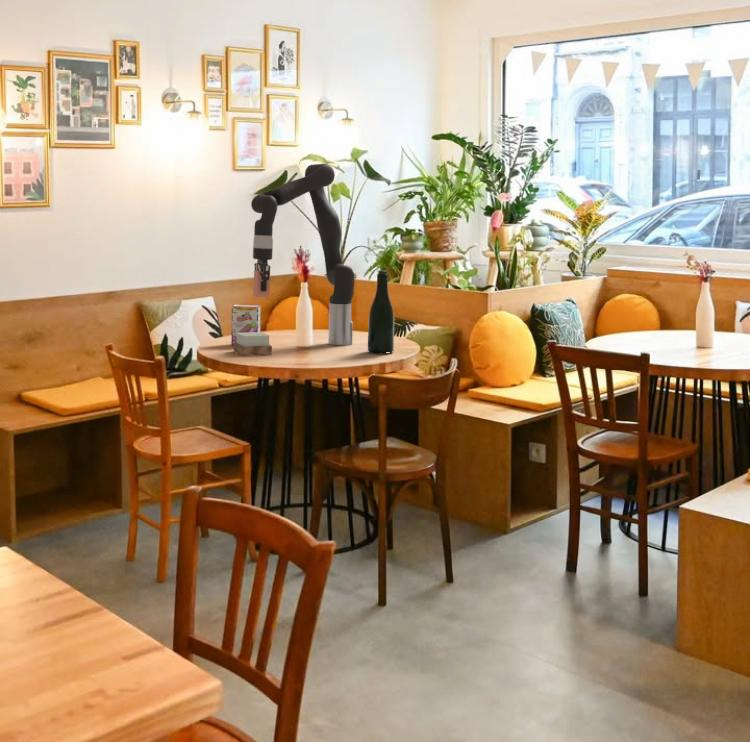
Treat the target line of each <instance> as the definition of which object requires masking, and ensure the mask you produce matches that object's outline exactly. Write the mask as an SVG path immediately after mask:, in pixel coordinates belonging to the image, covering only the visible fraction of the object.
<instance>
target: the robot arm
mask: <svg viewBox="0 0 750 742" xmlns="http://www.w3.org/2000/svg"><path fill="white" fill-rule="evenodd" d="M335 176H336V175H335V170H334V168H333V167H332V166H331V165H330V164H327V163H315V164H310V165H308V166H307V167H306V169H305V171H304V176H303V177H300V178H297V179H294V180H290V181H288V182H286V183H284V184H281V185H279V186H277V187H275V188H274V189H270V190H268V191H265V192H261V193H258V194H256V195H255V196H254V197H253V198H252V200H251V203H250V204H251V209H252V210H253V212H255V213H257V214H261V215H260V216H261V217H260V219H258V220H256V221H255V222H254V227H253V229H254V233H253V241H252V242H253V245H252V250H253V251H252V258H253V259H254V260H257V261H256V262H254V270H255V271H260V276H261V291H267V282H268V280H269V276H270V277H271V265H269V262H268V261H271V260H272V259H273V252H274V251H273V246H274V244H273V243H274V240H273V233H274V232H273V228H274V227H273V225H274V222H275V218H276V216H277V212H278V206H279V207H281V206H284V205H286V204H289V202H291V201H293V200H296V198H299V197H301V196H303V195H305V194H307V193H309V196H310V200H311V202H312V207H313V211H314V215H315V219H316V220H315V221H316V224H317V225H316V226H317V229H318V234H319V237H320V241H321V242H320V243H321V248H322V251H323V257H324V266H325V272H326V278H327V281H328V282H329V284H330V285H331V286H333V292H332V294H331V295H330V296H329V299H328V300H329V301H328V303H329V306H328V307H329V308H328V313H329V314H328V344H329V345H332V346H333V345H334V346H349V345H353V334H354V333H353V330H354V329H353V328H354V327H353V326H354V324H353V321H352V301H353V300H352V299H353V297H354V294H355V292H354V290H355V272H354V270H353V269H352V267H350V266H349V265H346V264H344V262H343V259H342V256H341V244H342V243H341V242H342V228H341V223H340V218H339V214H338V213H337V212H336V210H335V208H334V207H333V205H332V203H331V202H330V201H329V200H328V198H327V194H326V192H325V187H328V186H330V185H331V184H332V183H333V182H334V180H335ZM261 272H263V273H261ZM265 276H266V277H265Z"/></svg>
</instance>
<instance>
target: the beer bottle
mask: <svg viewBox="0 0 750 742" xmlns="http://www.w3.org/2000/svg"><path fill="white" fill-rule="evenodd" d="M377 272H378V273H377V274H376V291H375V295H374V298H373V301H372V303H371V306H370V309H369V312H368V313H369V315H368V325H367V326H368V328H367V332H368V333H367V352H368V351H369V352H368V353H370V352H372V353H371V354H374V353H386V352H392V351H393V352H394V350H395V349H394V347H395V345H394V344H395V315H394V314H395V313H394V308H393V307H394V306H393V305H392V302H391V299H390V296H389V287H388V285H389V283H388V282H389V281H388V280H389V274H388V271H387V270H383V269H382V270H378V271H377ZM393 352H392V353H393Z"/></svg>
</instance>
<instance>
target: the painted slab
mask: <svg viewBox="0 0 750 742" xmlns="http://www.w3.org/2000/svg"><path fill="white" fill-rule="evenodd" d="M237 343H238V344H240V345H242V346H244V347H247V346H269V345H270V335H269V334H267V333H265V332H261V331H260V332H247V333H237Z"/></svg>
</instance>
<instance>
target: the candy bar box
mask: <svg viewBox="0 0 750 742" xmlns="http://www.w3.org/2000/svg"><path fill="white" fill-rule="evenodd" d="M247 332H261V305H251V304H250V305H249V304H246V305H245V304H233V305H232V306H231V343H230V344H231V346H234V343H237V333H247Z"/></svg>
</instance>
